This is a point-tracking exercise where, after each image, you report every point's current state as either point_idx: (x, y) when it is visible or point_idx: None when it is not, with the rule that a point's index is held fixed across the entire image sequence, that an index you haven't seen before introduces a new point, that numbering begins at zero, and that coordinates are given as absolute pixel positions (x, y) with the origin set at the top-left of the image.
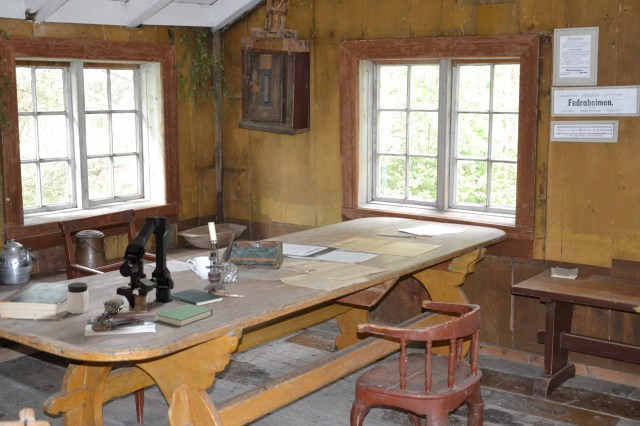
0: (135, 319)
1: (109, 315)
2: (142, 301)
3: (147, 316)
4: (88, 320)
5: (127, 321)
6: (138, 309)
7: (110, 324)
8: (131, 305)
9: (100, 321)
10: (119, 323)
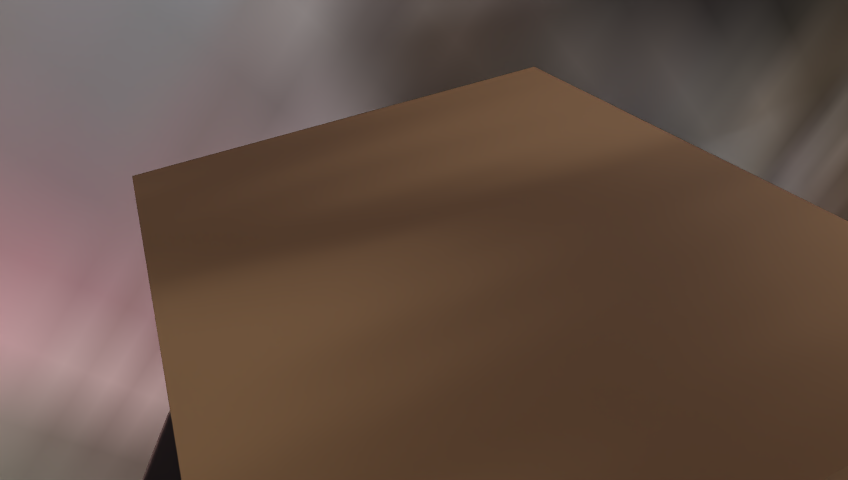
0: None
1: None
2: (474, 334)
3: (34, 138)
4: None
5: (610, 76)
6: (538, 110)
7: (842, 107)
8: None
9: None
10: (757, 61)
